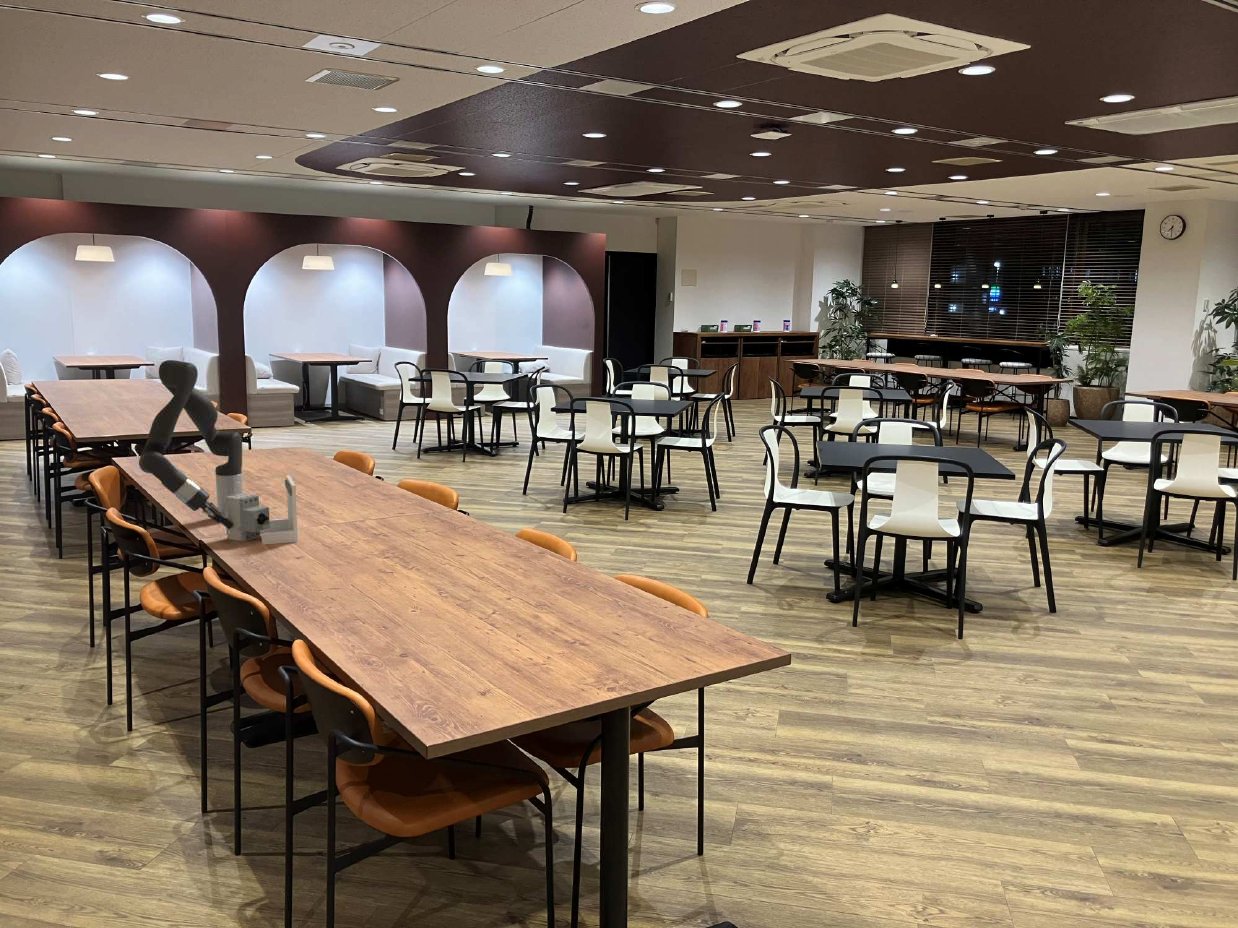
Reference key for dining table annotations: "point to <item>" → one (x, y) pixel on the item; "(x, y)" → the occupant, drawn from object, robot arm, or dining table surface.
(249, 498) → the circuit breaker
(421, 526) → the dining table surface
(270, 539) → the panel bay
